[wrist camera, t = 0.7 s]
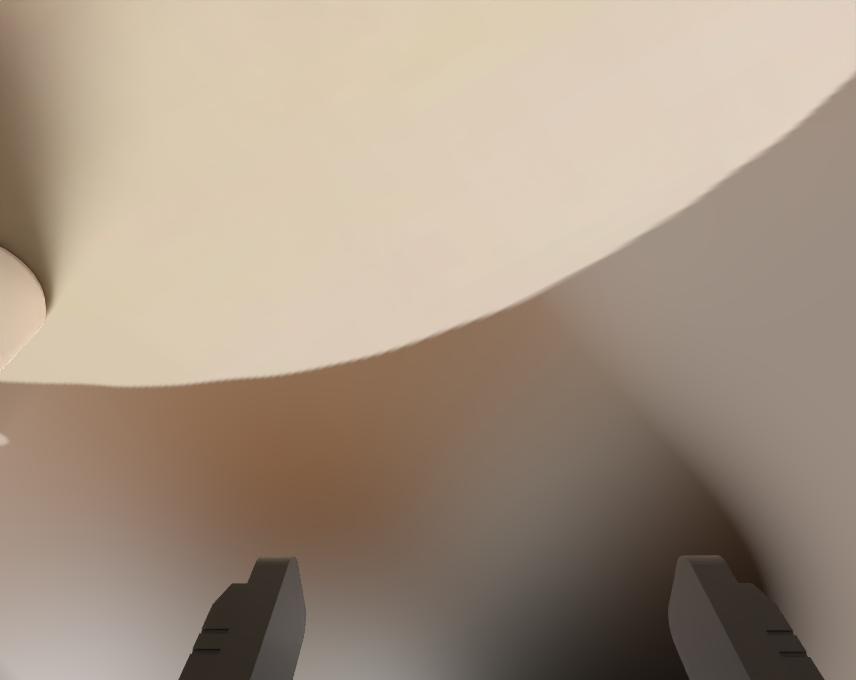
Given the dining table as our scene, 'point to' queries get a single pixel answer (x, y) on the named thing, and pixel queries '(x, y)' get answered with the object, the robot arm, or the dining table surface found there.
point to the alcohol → (18, 306)
